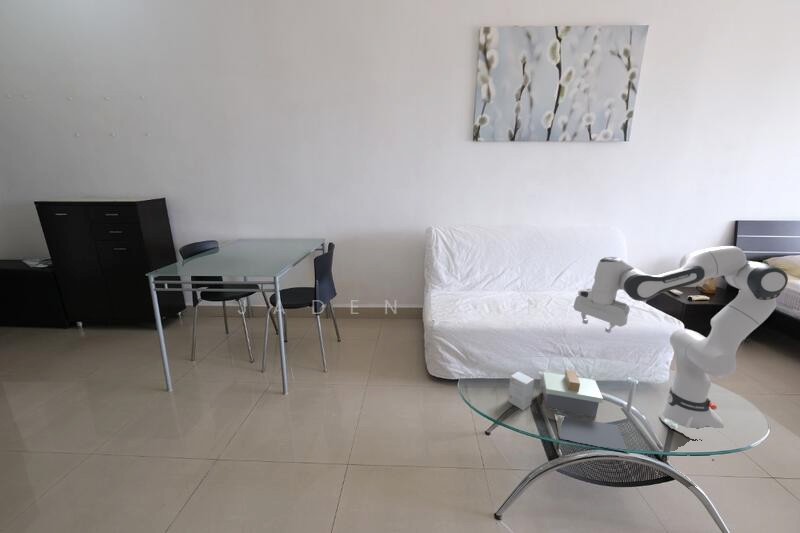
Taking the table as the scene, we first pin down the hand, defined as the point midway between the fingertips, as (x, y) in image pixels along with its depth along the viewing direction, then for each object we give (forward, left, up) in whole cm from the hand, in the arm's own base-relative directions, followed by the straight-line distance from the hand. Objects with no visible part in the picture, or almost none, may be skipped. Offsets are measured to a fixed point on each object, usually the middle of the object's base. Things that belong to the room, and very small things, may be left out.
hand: (596, 327), depth 147 cm
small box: (+27, +7, -38) cm, 47 cm away
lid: (+6, +1, -30) cm, 30 cm away
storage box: (+6, +1, -38) cm, 38 cm away
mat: (+1, +18, -38) cm, 42 cm away
